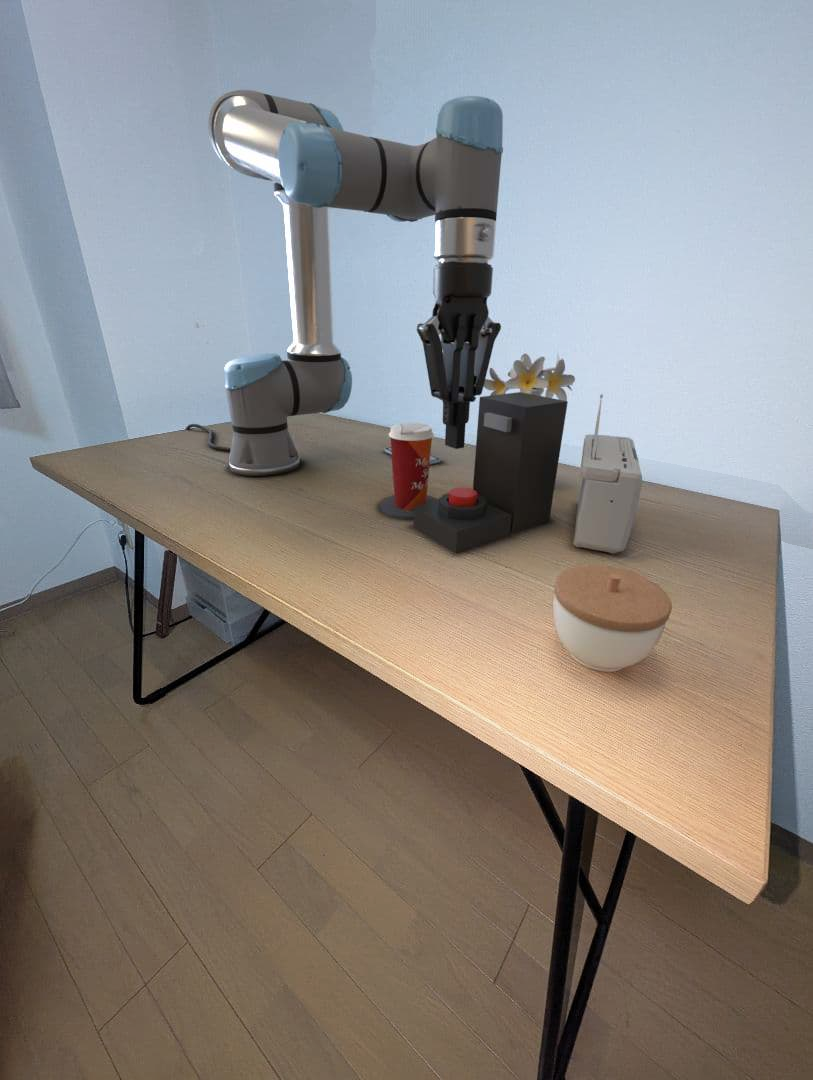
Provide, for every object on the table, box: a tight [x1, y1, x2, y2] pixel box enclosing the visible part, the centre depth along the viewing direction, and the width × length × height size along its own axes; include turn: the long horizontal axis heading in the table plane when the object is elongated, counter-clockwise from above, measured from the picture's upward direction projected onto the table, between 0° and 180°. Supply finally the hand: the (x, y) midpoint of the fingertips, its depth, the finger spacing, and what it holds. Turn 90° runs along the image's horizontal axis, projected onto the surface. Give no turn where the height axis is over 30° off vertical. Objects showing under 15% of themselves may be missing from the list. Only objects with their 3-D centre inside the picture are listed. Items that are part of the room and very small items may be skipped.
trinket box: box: [552, 564, 673, 673], centre depth 48 cm, size 11×11×9 cm
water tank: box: [472, 391, 569, 534], centre depth 77 cm, size 10×10×20 cm
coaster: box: [379, 494, 439, 520], centre depth 85 cm, size 11×11×1 cm
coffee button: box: [448, 487, 477, 506], centre depth 74 cm, size 4×4×2 cm
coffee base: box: [413, 492, 512, 554], centre depth 75 cm, size 11×11×6 cm
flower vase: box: [483, 352, 576, 401], centre depth 92 cm, size 13×18×25 cm
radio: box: [573, 393, 643, 555], centre depth 74 cm, size 21×8×20 cm, turn 160°
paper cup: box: [388, 422, 435, 510], centre depth 82 cm, size 8×8×14 cm
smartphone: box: [384, 446, 441, 465], centre depth 114 cm, size 7×1×15 cm
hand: (454, 446), depth 70 cm, fingers closed
